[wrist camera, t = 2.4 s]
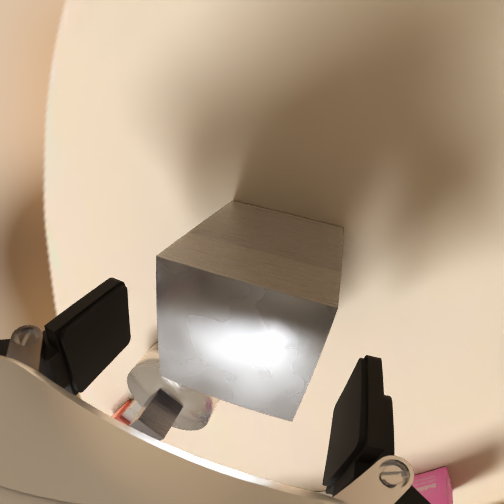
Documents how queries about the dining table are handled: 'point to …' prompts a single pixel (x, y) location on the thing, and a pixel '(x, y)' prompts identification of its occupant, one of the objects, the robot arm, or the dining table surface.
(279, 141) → the dining table surface
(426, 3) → the dining table surface
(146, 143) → the dining table surface
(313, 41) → the dining table surface
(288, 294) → the brushed steel block
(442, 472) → the gum box
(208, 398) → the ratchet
